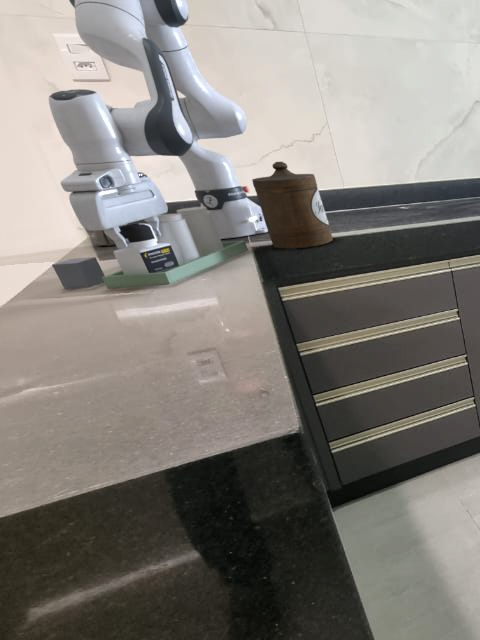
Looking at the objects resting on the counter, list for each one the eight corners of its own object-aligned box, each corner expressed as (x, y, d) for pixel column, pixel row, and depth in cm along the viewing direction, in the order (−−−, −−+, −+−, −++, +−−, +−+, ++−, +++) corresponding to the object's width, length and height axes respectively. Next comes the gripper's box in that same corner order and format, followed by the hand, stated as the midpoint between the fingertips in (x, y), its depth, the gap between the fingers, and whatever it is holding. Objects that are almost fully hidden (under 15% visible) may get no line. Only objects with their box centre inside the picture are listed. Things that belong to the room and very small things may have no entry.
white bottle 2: (204, 254, 140) (185, 207, 135) (231, 252, 141) (213, 205, 136) (188, 260, 134) (167, 212, 129) (216, 259, 135) (197, 210, 129)
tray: (199, 255, 142) (194, 243, 141) (249, 251, 143) (244, 240, 142) (108, 291, 114) (101, 277, 113) (171, 286, 115) (165, 272, 114)
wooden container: (341, 241, 150) (317, 159, 141) (283, 252, 141) (254, 165, 131) (322, 235, 160) (299, 158, 150) (266, 245, 150) (238, 163, 140)
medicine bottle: (154, 283, 116) (128, 228, 111) (127, 282, 117) (100, 228, 112) (184, 273, 122) (161, 221, 117) (158, 273, 123) (134, 221, 118)
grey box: (84, 284, 119) (71, 258, 117) (108, 283, 120) (95, 257, 117) (65, 291, 115) (51, 264, 112) (90, 289, 115) (77, 262, 113)
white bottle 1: (179, 264, 131) (158, 214, 126) (209, 262, 132) (189, 212, 127) (161, 271, 125) (138, 219, 120) (191, 269, 126) (170, 217, 120)
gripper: (130, 171, 119) (157, 232, 125) (52, 184, 101) (88, 255, 107) (161, 170, 120) (186, 231, 126) (88, 182, 101) (122, 253, 108)
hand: (140, 242), depth 116 cm, fingers open, 8 cm apart
